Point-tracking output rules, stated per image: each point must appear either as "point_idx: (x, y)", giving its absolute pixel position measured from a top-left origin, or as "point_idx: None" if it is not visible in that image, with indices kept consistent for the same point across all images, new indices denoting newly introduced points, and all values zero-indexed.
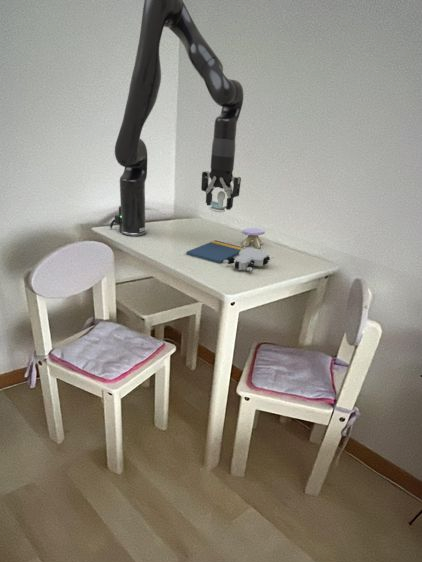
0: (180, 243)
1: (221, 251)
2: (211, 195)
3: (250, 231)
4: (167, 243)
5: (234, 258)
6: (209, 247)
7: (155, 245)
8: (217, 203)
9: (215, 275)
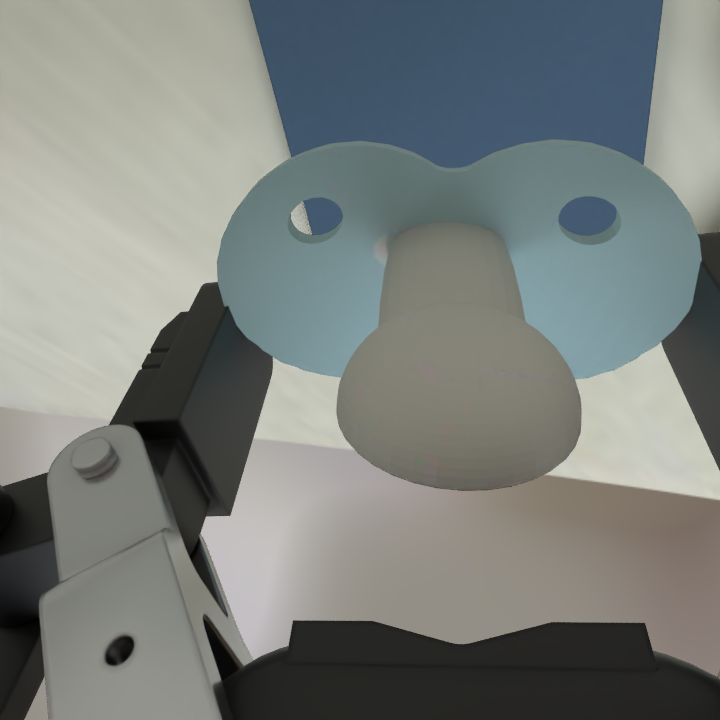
0: (78, 119)
1: (511, 50)
2: (205, 419)
3: None
4: (51, 207)
5: None
6: (353, 52)
7: (75, 299)
8: (285, 180)
9: None
